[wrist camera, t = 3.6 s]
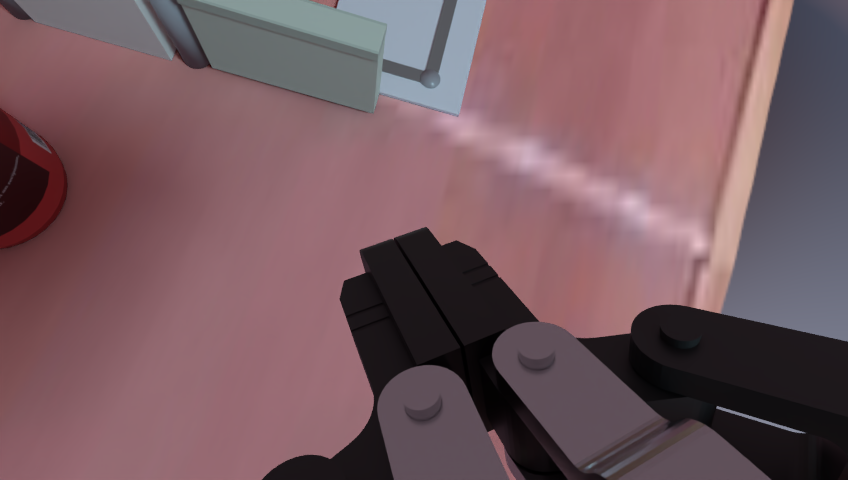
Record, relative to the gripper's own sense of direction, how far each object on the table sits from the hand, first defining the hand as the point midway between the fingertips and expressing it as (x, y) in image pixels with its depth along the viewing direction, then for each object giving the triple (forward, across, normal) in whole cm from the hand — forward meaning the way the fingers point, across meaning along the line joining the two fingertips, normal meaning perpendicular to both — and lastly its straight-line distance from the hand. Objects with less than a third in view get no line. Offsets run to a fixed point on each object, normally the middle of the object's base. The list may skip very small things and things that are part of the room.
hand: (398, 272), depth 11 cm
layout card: (+27, -9, +1) cm, 28 cm away
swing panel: (+25, -1, +1) cm, 25 cm away
